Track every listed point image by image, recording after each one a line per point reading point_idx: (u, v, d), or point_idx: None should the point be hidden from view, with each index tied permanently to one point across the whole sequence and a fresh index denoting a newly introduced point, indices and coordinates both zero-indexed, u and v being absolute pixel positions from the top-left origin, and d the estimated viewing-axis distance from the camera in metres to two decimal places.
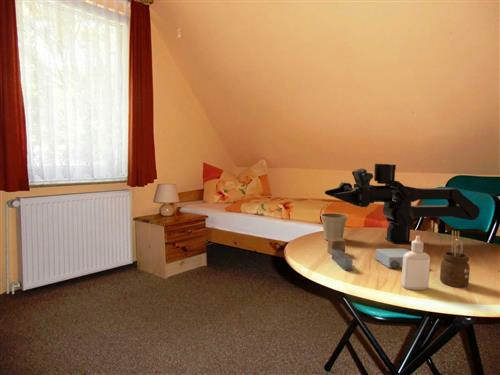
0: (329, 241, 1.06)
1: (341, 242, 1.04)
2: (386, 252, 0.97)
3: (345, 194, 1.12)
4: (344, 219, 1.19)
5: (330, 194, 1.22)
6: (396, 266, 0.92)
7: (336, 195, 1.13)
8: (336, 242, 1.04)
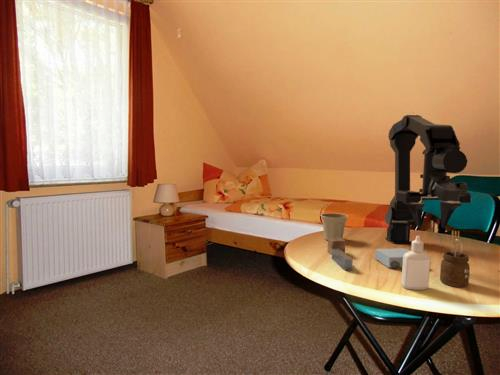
0: (329, 241, 1.06)
1: (341, 242, 1.04)
2: (386, 252, 0.97)
3: None
4: (344, 219, 1.19)
5: None
6: (396, 266, 0.92)
7: None
8: (336, 242, 1.04)
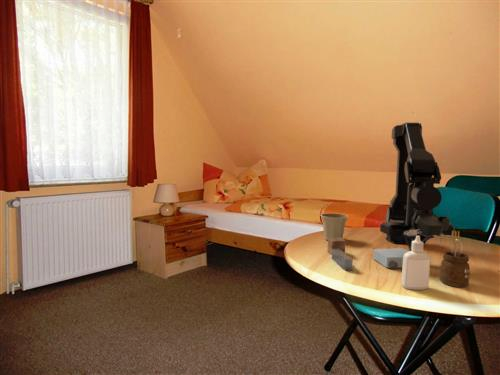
0: (329, 241, 1.06)
1: (341, 242, 1.04)
2: (384, 252, 0.97)
3: None
4: (344, 219, 1.19)
5: None
6: (394, 266, 0.92)
7: None
8: (336, 242, 1.04)
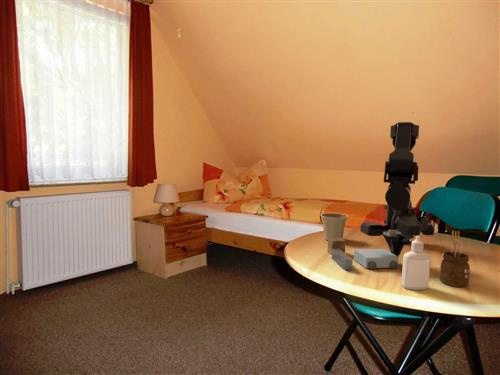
0: (329, 241, 1.06)
1: (341, 242, 1.04)
2: (364, 252, 0.97)
3: None
4: (344, 219, 1.19)
5: None
6: (373, 266, 0.92)
7: None
8: (336, 242, 1.04)
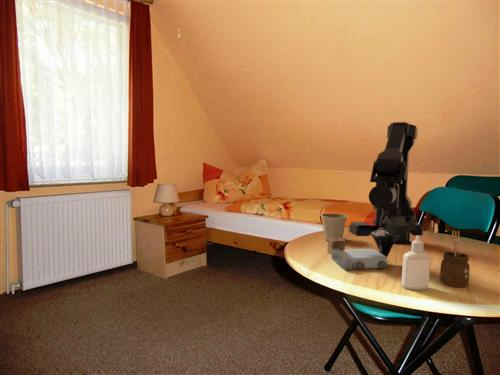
0: (329, 241, 1.06)
1: (341, 242, 1.04)
2: (353, 253, 0.96)
3: None
4: (344, 219, 1.19)
5: None
6: (361, 267, 0.91)
7: None
8: (336, 242, 1.04)
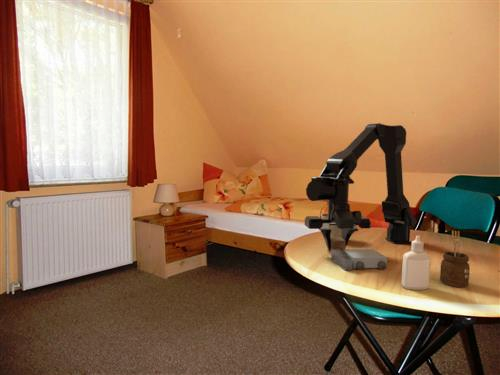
0: None
1: (341, 242, 1.04)
2: (352, 253, 0.96)
3: None
4: None
5: None
6: (361, 267, 0.91)
7: None
8: (336, 242, 1.04)
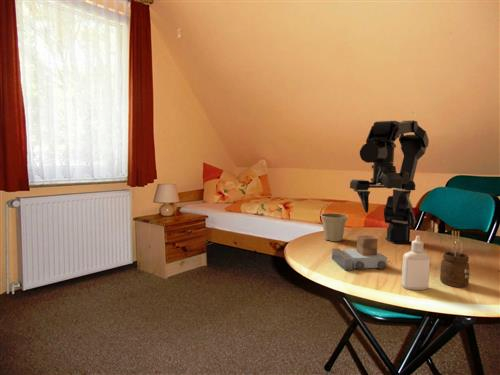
0: (359, 239, 0.96)
1: (373, 240, 0.94)
2: (352, 253, 0.96)
3: None
4: (344, 219, 1.19)
5: None
6: (361, 267, 0.91)
7: None
8: (367, 240, 0.94)
